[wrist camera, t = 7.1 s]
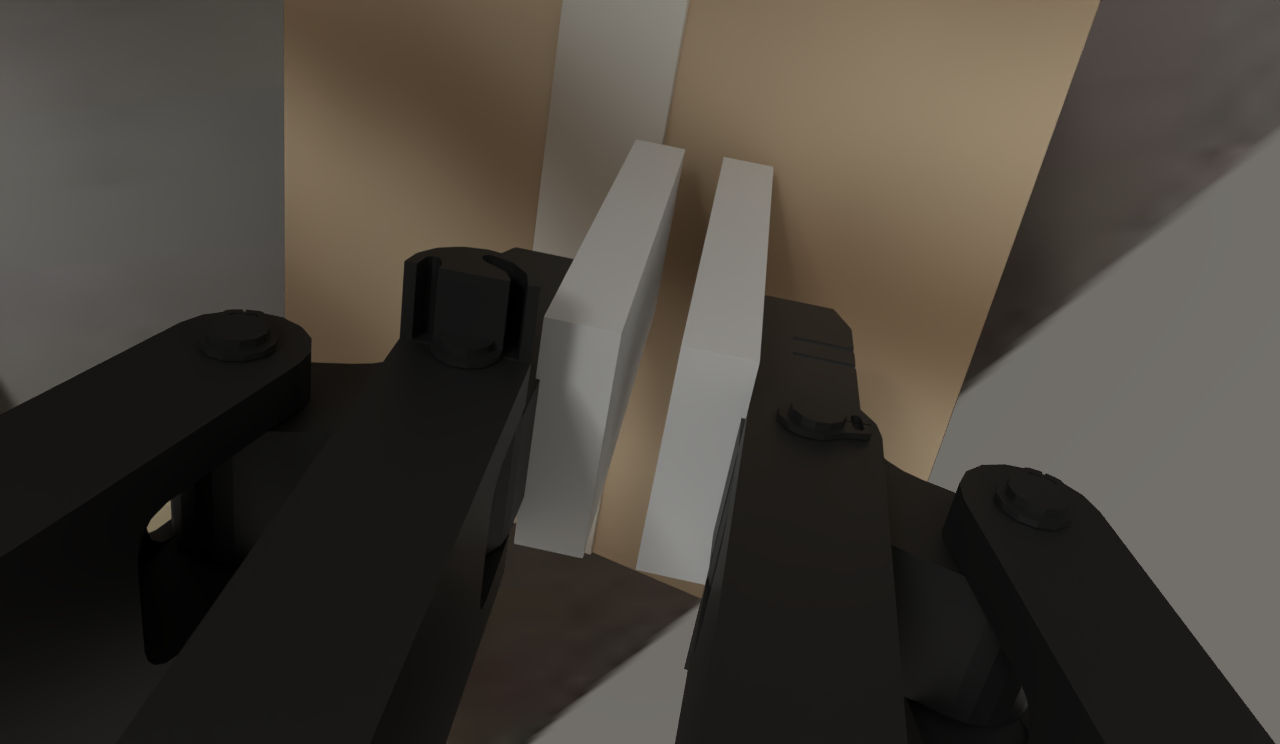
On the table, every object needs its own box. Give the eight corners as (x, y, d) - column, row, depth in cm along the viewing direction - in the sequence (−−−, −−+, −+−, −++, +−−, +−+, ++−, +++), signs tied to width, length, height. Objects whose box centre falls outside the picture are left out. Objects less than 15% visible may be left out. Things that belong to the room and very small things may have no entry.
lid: (318, -419, 16) (277, -433, 15) (1207, -297, 12) (1210, -309, 12) (310, 405, 23) (281, 423, 22) (870, 639, 19) (859, 670, 19)
